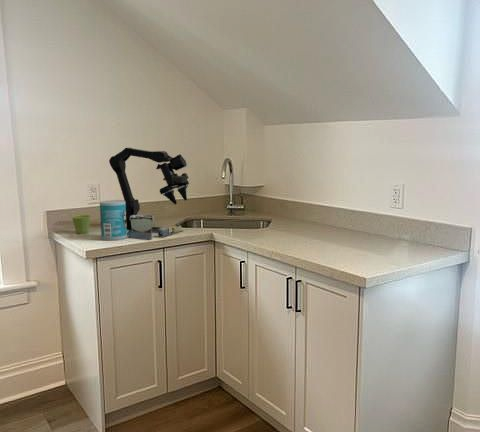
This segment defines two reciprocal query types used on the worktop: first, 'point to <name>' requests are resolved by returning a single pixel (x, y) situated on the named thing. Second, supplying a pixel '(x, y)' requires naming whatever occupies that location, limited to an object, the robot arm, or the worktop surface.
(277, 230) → the worktop surface
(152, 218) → the food container
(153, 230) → the bracket
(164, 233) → the clip rail
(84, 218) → the plant pot
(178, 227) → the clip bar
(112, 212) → the food can
